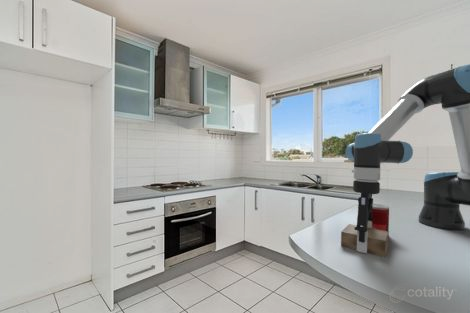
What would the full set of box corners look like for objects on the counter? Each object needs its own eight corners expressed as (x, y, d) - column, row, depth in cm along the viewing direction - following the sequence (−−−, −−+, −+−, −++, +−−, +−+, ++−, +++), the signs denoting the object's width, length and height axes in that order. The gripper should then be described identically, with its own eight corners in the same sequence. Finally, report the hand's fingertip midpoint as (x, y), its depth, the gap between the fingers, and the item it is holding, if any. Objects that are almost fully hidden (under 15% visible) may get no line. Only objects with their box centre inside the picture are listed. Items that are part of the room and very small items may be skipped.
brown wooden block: (388, 246, 74) (388, 231, 74) (384, 258, 66) (385, 241, 66) (348, 237, 82) (349, 224, 82) (340, 246, 73) (341, 231, 73)
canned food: (392, 239, 80) (393, 208, 80) (367, 237, 82) (368, 207, 82) (382, 232, 88) (383, 204, 88) (360, 230, 89) (361, 202, 89)
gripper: (358, 177, 86) (357, 232, 86) (346, 182, 66) (344, 254, 66) (382, 178, 81) (380, 237, 82) (376, 185, 61) (374, 262, 61)
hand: (364, 245), depth 74 cm, fingers open, 13 cm apart
